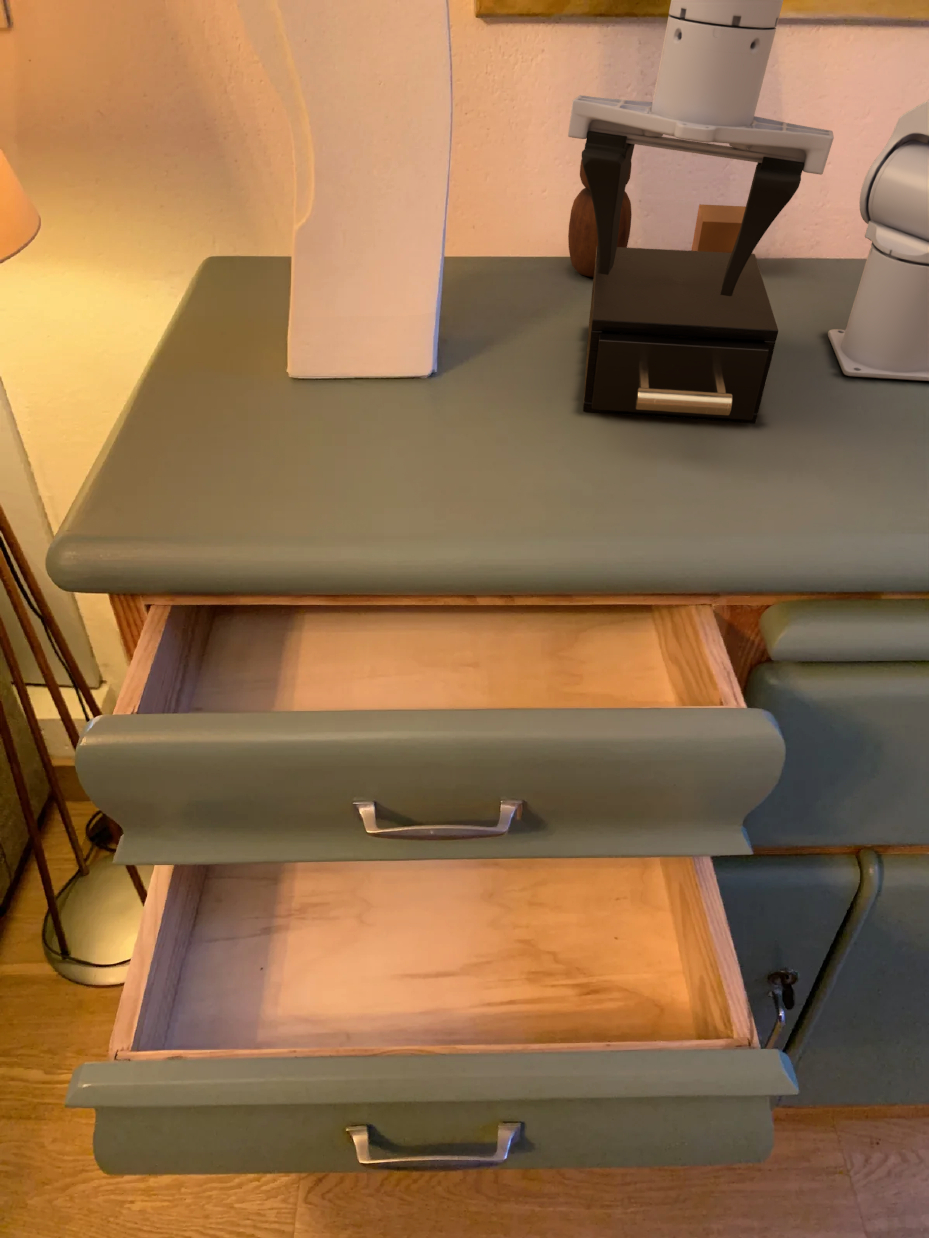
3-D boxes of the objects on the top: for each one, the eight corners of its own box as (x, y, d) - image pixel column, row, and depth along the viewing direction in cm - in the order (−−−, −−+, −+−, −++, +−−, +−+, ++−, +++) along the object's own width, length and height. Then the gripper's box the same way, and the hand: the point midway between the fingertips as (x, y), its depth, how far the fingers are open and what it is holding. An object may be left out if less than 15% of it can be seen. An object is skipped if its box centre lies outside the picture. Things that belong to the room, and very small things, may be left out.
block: (740, 258, 90) (751, 206, 87) (745, 277, 86) (757, 223, 83) (690, 256, 90) (699, 204, 87) (693, 274, 87) (702, 221, 83)
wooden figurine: (622, 286, 84) (644, 108, 74) (561, 281, 85) (575, 104, 75) (627, 261, 89) (648, 90, 79) (569, 256, 90) (583, 87, 80)
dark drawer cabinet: (755, 423, 65) (778, 330, 60) (582, 412, 66) (592, 319, 62) (736, 338, 76) (755, 254, 71) (588, 329, 77) (596, 246, 72)
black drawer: (761, 462, 59) (780, 389, 56) (589, 450, 61) (597, 378, 57) (734, 339, 74) (747, 275, 70) (595, 331, 75) (602, 268, 71)
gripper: (574, 10, 46) (539, 279, 54) (867, 47, 43) (781, 322, 52) (598, 2, 51) (562, 247, 60) (859, 33, 48) (783, 285, 57)
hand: (665, 280), depth 56 cm, fingers open, 7 cm apart
